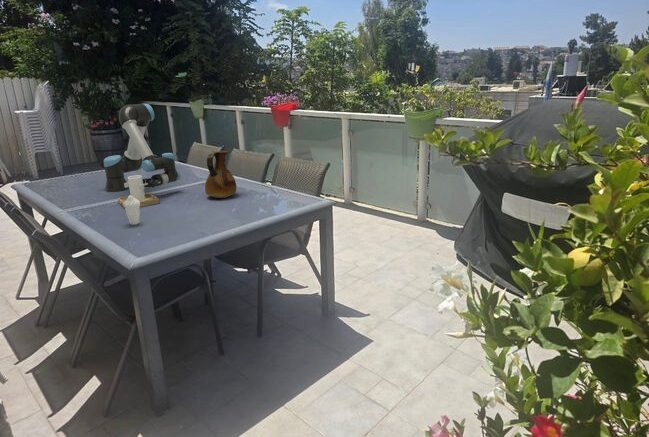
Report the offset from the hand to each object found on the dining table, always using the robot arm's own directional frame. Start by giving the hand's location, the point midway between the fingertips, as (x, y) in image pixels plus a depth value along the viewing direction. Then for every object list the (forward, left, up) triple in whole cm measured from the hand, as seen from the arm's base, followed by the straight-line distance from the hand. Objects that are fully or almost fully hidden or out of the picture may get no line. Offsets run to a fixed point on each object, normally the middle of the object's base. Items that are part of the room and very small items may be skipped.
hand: (131, 186), depth 280 cm
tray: (-1, +3, -12) cm, 12 cm away
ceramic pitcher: (+19, +50, -12) cm, 55 cm away
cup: (-1, +3, -11) cm, 11 cm away
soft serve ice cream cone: (+41, -10, -12) cm, 44 cm away
